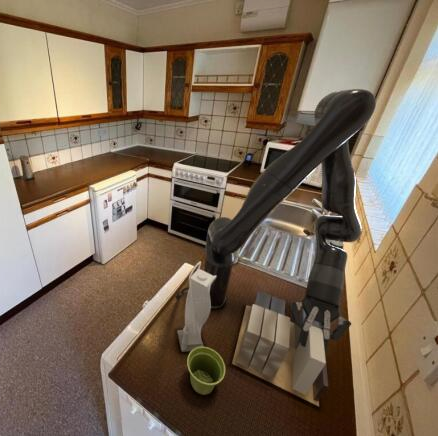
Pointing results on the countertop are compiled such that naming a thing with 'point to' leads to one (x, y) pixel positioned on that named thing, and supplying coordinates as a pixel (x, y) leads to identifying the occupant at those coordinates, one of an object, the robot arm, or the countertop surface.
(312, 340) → the white book
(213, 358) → the plant pot
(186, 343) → the skyscraper
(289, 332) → the book board
